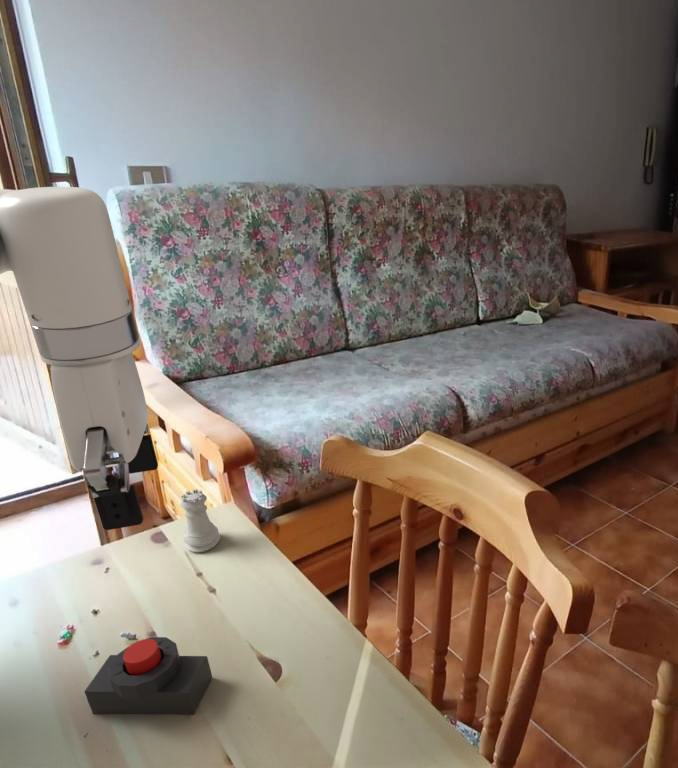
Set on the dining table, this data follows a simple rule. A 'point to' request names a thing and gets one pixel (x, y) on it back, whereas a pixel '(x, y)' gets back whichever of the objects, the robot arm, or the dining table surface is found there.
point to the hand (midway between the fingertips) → (133, 496)
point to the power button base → (151, 684)
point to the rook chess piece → (198, 523)
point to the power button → (142, 657)
